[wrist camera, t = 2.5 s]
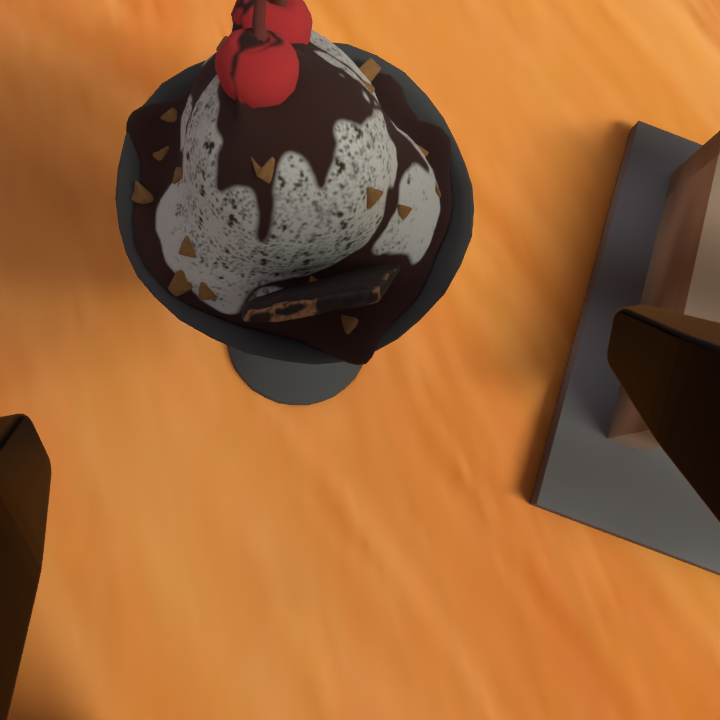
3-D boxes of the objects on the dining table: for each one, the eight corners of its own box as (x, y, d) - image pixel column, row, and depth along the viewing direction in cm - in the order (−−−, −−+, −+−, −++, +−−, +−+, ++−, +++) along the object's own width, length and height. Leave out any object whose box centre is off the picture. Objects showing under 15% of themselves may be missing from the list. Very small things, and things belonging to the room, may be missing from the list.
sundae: (257, 218, 22) (175, -368, 7) (420, 299, 21) (679, -125, 7) (164, 375, 20) (-197, 26, 5) (341, 463, 20) (465, 354, 5)
